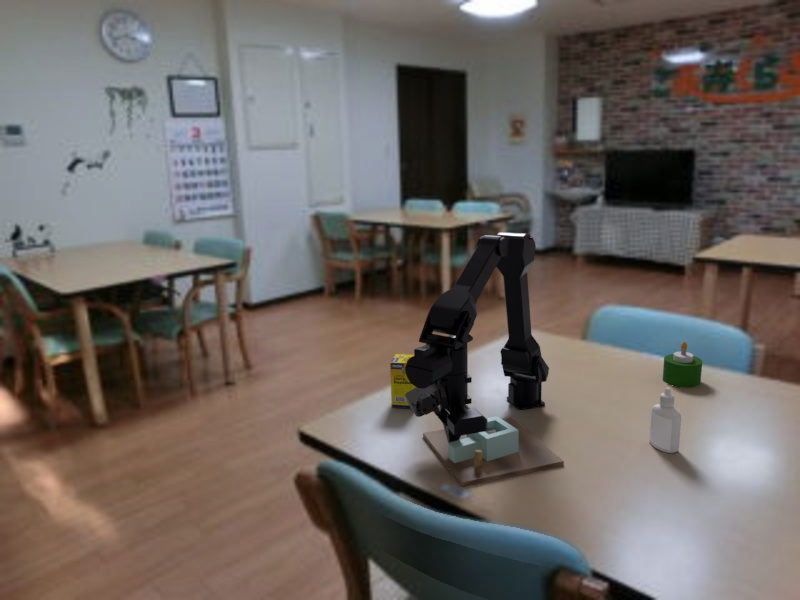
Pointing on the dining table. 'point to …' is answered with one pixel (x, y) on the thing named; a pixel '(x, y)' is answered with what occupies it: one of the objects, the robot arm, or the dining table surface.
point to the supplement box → (399, 381)
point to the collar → (486, 442)
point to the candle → (682, 369)
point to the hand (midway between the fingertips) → (452, 446)
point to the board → (479, 470)
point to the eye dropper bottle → (665, 424)
